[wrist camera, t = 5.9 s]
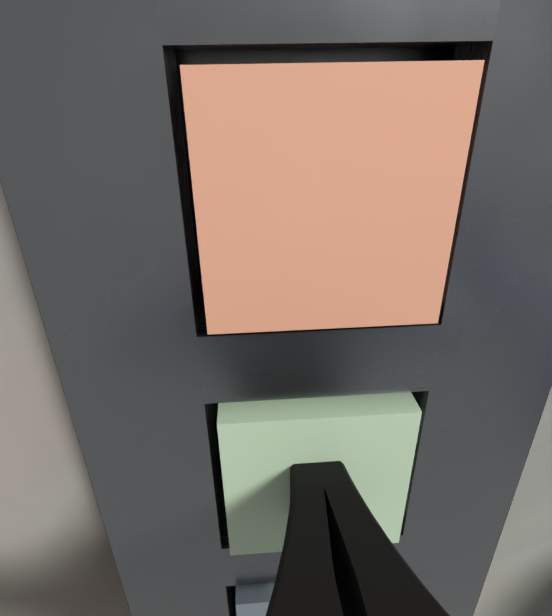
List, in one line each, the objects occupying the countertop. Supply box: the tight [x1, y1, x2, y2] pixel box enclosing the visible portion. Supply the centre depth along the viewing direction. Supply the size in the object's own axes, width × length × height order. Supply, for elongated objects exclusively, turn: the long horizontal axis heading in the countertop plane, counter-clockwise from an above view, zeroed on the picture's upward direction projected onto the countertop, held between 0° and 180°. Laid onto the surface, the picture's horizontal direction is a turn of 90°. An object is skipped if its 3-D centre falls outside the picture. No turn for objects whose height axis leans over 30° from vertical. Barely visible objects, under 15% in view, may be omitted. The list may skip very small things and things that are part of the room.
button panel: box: [0, 0, 552, 616], centre depth 13 cm, size 12×23×3 cm, turn 1°
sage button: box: [217, 392, 422, 556], centre depth 13 cm, size 5×5×3 cm
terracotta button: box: [180, 60, 485, 335], centre depth 10 cm, size 5×5×3 cm
